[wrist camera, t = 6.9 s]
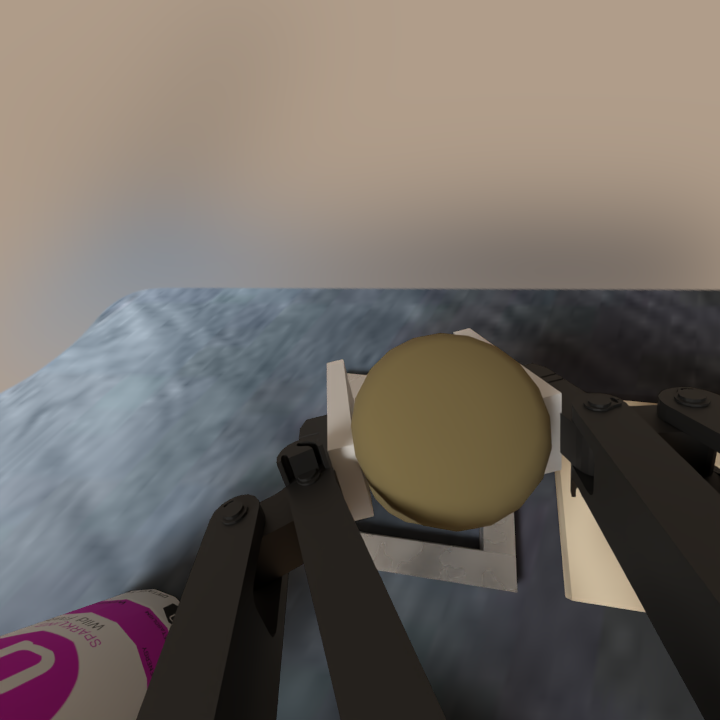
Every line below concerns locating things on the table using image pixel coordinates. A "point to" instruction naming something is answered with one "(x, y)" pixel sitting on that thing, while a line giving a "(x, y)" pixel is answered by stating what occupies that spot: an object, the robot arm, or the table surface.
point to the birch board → (590, 549)
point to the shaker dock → (448, 550)
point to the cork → (450, 432)
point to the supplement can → (86, 660)
